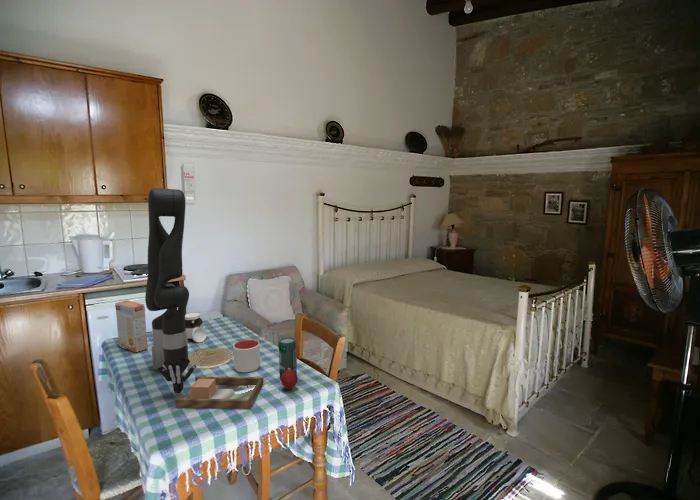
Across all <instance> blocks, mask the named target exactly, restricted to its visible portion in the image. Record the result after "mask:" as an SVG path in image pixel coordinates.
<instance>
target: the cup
mask: <svg viewBox="0 0 700 500" xmlns="http://www.w3.org/2000/svg"><path fill="white" fill-rule="evenodd" d="M260 349H261V348H260V341H257V340H255V339H244V340H240V341H236V342H235V343H234V344H233V345H232V350H233V351H232V352H233V368H234V370H235V371H236V372H238V373H243V374H245V373H252V372H254V371H257V370H258V369H259V368H260V367H261V354H260V353H261V350H260Z"/></svg>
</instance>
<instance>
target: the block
mask: <svg viewBox="0 0 700 500" xmlns="http://www.w3.org/2000/svg"><path fill="white" fill-rule="evenodd" d="M190 391H191V397H192V399H210V398H211V397H212V396H213V394H214V393H215V392H216V381H215V379H198V380H197V381H195V382H194V383H193V384H192V385H191V386H190Z"/></svg>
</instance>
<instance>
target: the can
mask: <svg viewBox="0 0 700 500" xmlns="http://www.w3.org/2000/svg"><path fill="white" fill-rule="evenodd" d="M278 361H279V365H278V367H279V381H280V382H281V377H282V374H283V373H284V372H285V371H286V370H287V369H288V368H290V369H291V370H293V371H294V372H295V373H296V374H297V375H298V369H297V368H298V367H297V366H298V365H297V362H298V361H297V339H296V337H293V336H286V337H281V338H279V339H278Z"/></svg>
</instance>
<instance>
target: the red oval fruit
mask: <svg viewBox="0 0 700 500" xmlns="http://www.w3.org/2000/svg"><path fill="white" fill-rule="evenodd" d="M298 379H299V378H298V373H297V374H296V373H295V372H294V371H293V370H291V369H290V368H288V369H287V370H286V371H285V372H284V373H283V374H282V377H281V381H280V382H281V385H282V386H283V387H284V388H286V389H287V390H289V391H290V390H292V389H293V388H294V387H296V385H297V384H298Z"/></svg>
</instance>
